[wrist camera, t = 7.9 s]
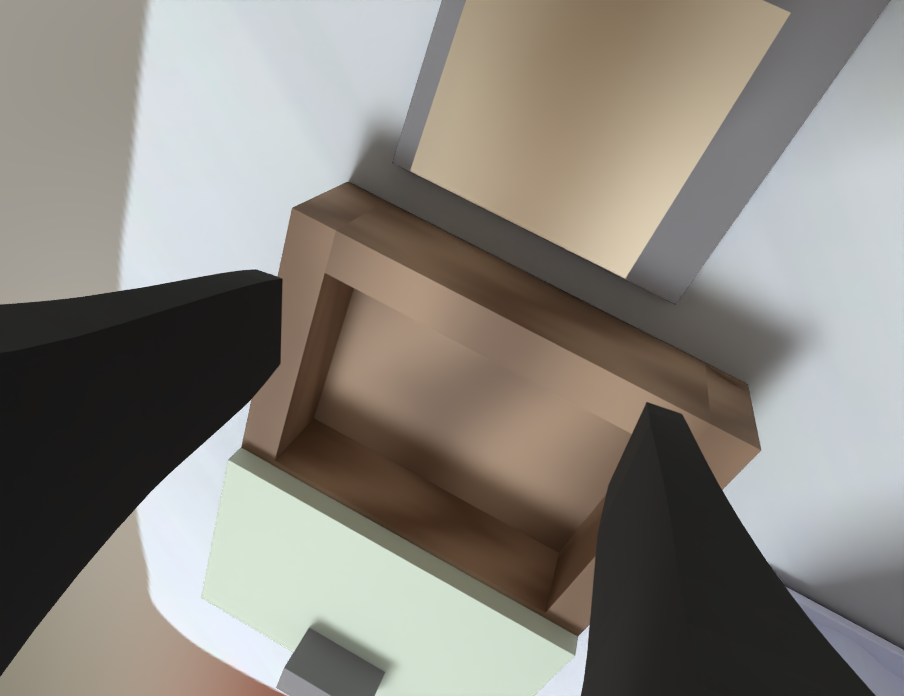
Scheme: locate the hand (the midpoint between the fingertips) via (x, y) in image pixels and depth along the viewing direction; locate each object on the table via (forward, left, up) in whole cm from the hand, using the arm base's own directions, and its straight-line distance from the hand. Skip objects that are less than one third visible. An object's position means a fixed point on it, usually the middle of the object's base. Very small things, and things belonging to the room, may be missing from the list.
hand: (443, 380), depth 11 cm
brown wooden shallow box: (-1, +12, -9) cm, 15 cm away
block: (0, -5, -9) cm, 10 cm away
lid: (-1, +17, -6) cm, 18 cm away
